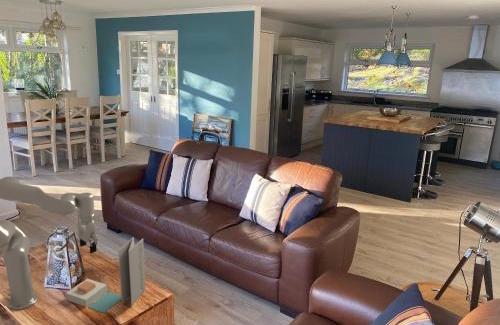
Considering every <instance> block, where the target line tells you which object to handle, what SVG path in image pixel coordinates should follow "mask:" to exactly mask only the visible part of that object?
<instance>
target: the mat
mask: <svg viewBox="0 0 500 325" xmlns="http://www.w3.org/2000/svg"><path fill="white" fill-rule="evenodd" d="M120 301H122V299H121V294H118V293H115V292H111V291H107V292H106V293H105V294H103V295H102V296H101V297H99V298H98V299H97V300H95V301H94V302H93V303H91V304H90V305H89V306H87V308H89V309H91V310H93V311H97V312H100V313H102V314H106V313H107V312H108V311H109V310H111V308H113V307H114V306H115V305H116V304H118V303H119V302H120Z"/></svg>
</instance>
